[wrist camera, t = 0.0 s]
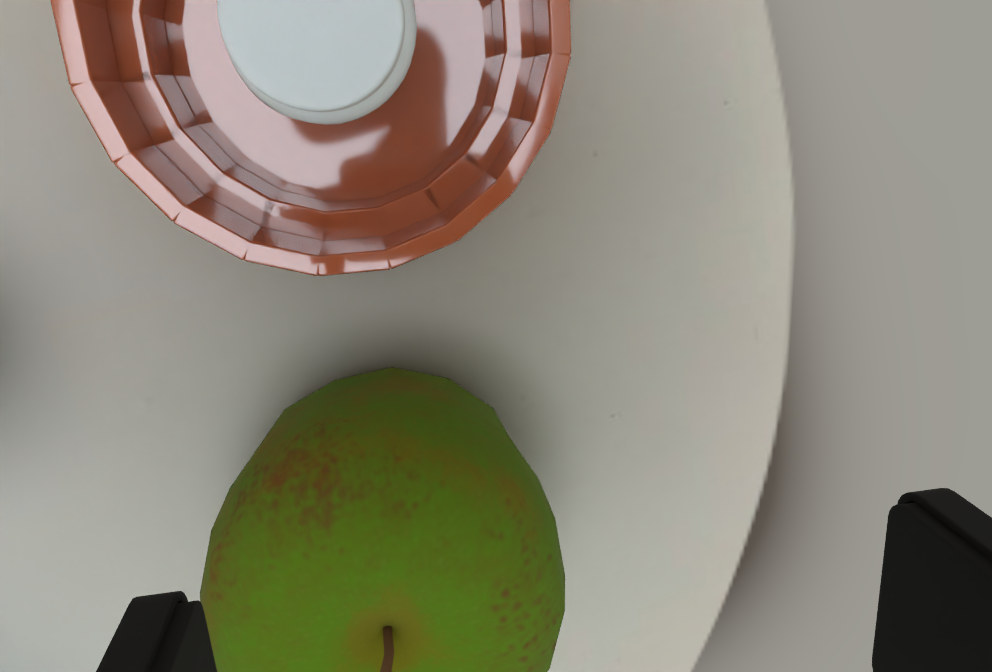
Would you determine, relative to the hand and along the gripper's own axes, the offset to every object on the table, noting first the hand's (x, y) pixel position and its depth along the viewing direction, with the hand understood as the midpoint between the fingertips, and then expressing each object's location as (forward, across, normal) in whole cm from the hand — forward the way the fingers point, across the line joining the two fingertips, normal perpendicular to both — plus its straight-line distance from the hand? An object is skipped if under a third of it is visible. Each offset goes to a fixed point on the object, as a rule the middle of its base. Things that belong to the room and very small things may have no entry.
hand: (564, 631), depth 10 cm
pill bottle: (+19, +3, -9) cm, 21 cm away
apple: (+19, +3, +7) cm, 21 cm away
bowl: (+19, +3, -9) cm, 21 cm away
